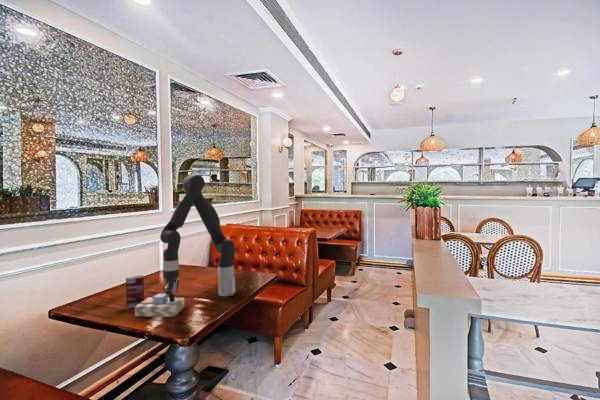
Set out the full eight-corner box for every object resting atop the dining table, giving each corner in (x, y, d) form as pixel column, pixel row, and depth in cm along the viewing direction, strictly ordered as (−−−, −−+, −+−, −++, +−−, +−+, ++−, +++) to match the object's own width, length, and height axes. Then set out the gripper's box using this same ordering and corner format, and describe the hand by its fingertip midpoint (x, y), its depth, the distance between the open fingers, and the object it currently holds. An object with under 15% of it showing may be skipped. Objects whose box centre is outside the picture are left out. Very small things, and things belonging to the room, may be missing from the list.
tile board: (184, 306, 162) (184, 297, 162) (173, 316, 150) (173, 306, 150) (148, 306, 163) (148, 297, 163) (135, 316, 151) (135, 306, 151)
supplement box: (126, 308, 161) (125, 279, 160) (126, 305, 165) (125, 277, 164) (144, 305, 165) (143, 277, 164) (144, 302, 169) (143, 274, 168)
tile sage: (179, 306, 159) (179, 299, 159) (175, 310, 154) (174, 303, 154) (170, 306, 159) (170, 299, 159) (165, 310, 154) (165, 302, 154)
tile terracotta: (155, 306, 160) (155, 298, 159) (150, 310, 155) (150, 302, 154) (146, 306, 160) (146, 298, 160) (141, 310, 155) (140, 302, 155)
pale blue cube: (167, 301, 159) (167, 293, 159) (162, 304, 154) (162, 297, 154) (158, 301, 159) (158, 293, 159) (153, 304, 154) (152, 297, 154)
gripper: (172, 272, 148) (173, 306, 149) (183, 265, 162) (184, 296, 163) (157, 271, 149) (158, 306, 150) (170, 264, 162) (171, 296, 163)
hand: (172, 301), depth 156 cm, fingers closed
